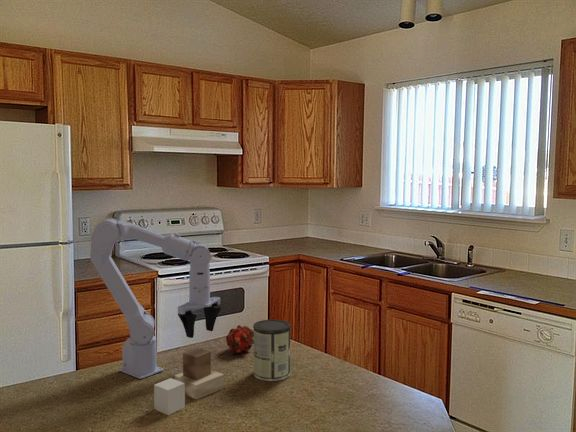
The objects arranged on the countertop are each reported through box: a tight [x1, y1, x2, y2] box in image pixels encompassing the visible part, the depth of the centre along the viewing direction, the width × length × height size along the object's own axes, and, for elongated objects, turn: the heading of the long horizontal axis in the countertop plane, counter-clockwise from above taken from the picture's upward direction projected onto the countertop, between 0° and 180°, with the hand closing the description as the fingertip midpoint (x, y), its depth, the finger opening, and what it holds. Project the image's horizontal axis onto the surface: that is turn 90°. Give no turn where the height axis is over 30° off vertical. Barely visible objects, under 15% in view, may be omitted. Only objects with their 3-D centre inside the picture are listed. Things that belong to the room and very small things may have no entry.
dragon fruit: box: [225, 324, 254, 355], centre depth 161 cm, size 8×8×12 cm
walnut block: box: [182, 347, 212, 380], centre depth 133 cm, size 5×5×6 cm
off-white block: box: [153, 377, 186, 416], centre depth 122 cm, size 5×5×6 cm
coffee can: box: [252, 319, 292, 382], centre depth 143 cm, size 10×10×14 cm
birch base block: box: [173, 369, 225, 400], centre depth 133 cm, size 9×9×4 cm
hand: (199, 333), depth 147 cm, fingers open, 7 cm apart
